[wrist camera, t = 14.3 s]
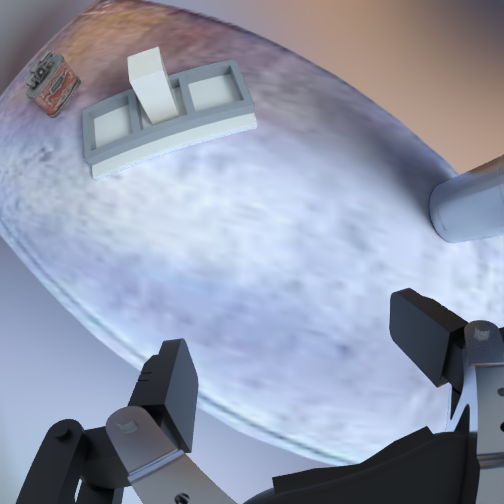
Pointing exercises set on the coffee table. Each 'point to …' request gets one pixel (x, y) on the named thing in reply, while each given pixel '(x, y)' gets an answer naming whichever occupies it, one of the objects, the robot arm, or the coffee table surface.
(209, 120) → the rack
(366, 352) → the coffee table surface
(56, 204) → the coffee table surface
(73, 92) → the lighter
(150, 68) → the clay bar
